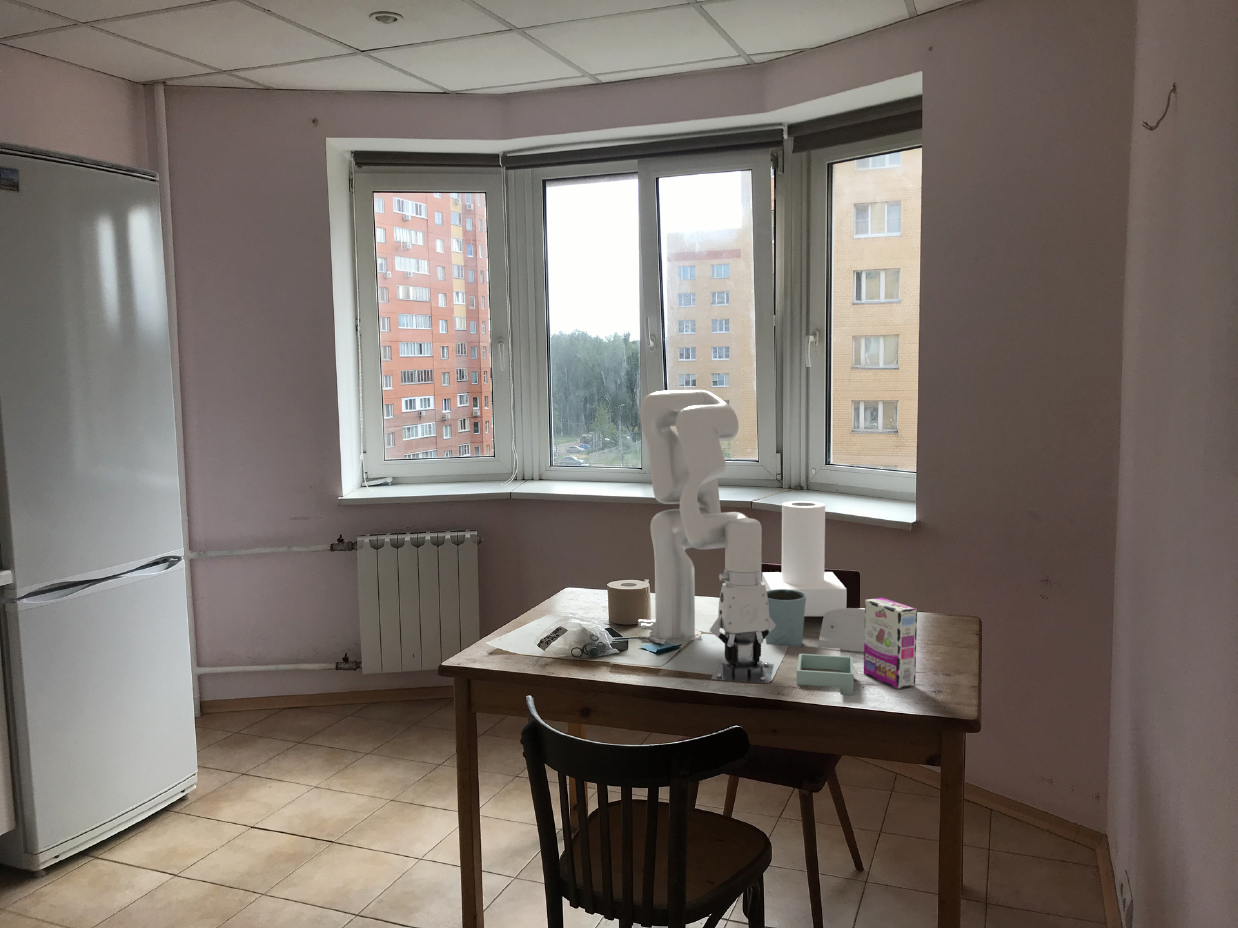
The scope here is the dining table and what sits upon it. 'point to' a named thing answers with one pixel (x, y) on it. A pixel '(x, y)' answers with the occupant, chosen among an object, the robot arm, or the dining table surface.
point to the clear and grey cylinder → (744, 649)
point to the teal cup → (786, 617)
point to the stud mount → (743, 672)
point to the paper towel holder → (806, 559)
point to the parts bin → (830, 679)
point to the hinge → (843, 629)
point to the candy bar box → (890, 642)
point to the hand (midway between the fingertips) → (742, 660)
